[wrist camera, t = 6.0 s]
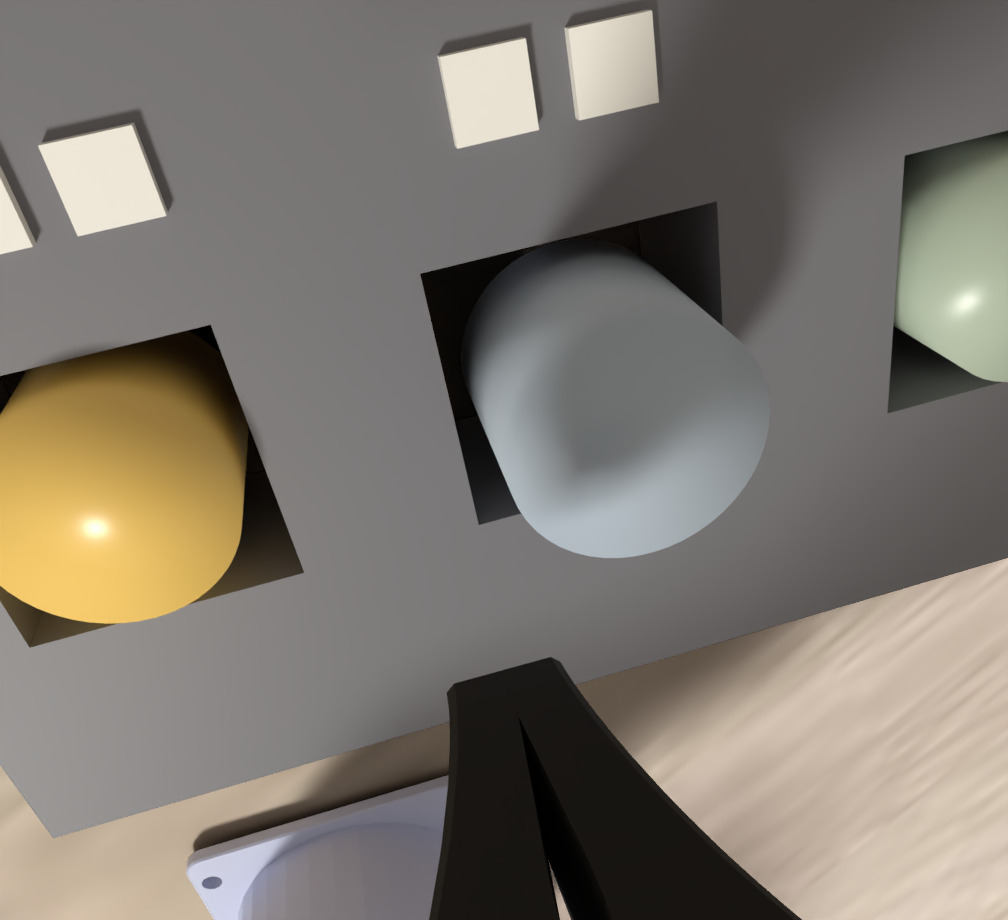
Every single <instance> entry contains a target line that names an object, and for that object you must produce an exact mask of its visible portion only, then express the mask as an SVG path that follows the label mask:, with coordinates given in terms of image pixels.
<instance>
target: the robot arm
mask: <svg viewBox="0 0 1008 920" xmlns="http://www.w3.org/2000/svg"><path fill="white" fill-rule="evenodd" d="M447 699H448V706H449V720H450V757H449V775H447V776H444V777H440V778H437V779H433V780H430V781H427V782H423V783H420V784H417V785H413V786H410V787H407V788H403V789H400V790H397V791H393V792H390V793H387V794H383V795H380V796H377V797H373V798H370V799H367V800H363V801H360V802H357V803H353V804H350V805H347V806H343V807H340V808H337V809H333V810H330V811H327V812H323V813H320V814H317V815H313V816H310V817H307V818H303V819H300V820H297V821H293V822H290V823H287V824H283V825H280V826H277V827H273V828H270V829H267V830H263V831H260V832H257V833H253V834H250V835H247V836H243V837H240V838H237V839H233V840H230V841H227V842H223V843H220V844H217V845H213V846H210V847H207V848H203V849H200V850H198V851H196V852H194V853H193V854H192V855H190V856H189V858H188V861H187V868H186V873H187V876H188V878H189V880H190V881H191V883H192V884H193V886H194V888H195V889H196V891H197V893H198V894H199V896H200V898H201V899H202V901H203V902H204V904H205V906H206V907H207V909H208V911H209V912H210V914H211V915H212V917H213V919H214V920H560V917H559V912H558V907H557V902H556V897H555V892H554V886H553V881H552V876H551V871H550V866H549V863H550V865H551V868H552V871H553V873H554V876H555V878H556V881H557V884H558V886H559V889H560V891H561V894H562V897H563V899H564V902H565V904H566V907H567V910H568V912H569V915H570V917H571V920H802V919H801V918H799V917H798V916H797V915H796V914H794V913H793V912H792V911H791V910H790V909H788V908H787V907H786V906H785V905H784V904H783V903H781V902H780V901H779V900H778V899H777V898H776V897H774V896H773V895H772V894H771V893H770V892H769V891H767V890H766V889H765V888H764V887H763V886H762V885H760V884H759V883H758V882H757V881H756V880H755V879H754V878H752V877H751V876H750V875H749V874H748V873H747V872H746V871H745V870H744V869H742V868H741V867H740V866H739V865H738V864H737V863H736V862H735V861H734V860H733V859H732V858H731V857H729V856H728V855H727V854H726V853H725V852H724V851H723V850H722V849H721V848H720V847H719V846H718V845H717V844H716V843H715V842H714V841H713V840H711V839H710V838H709V837H708V836H707V835H706V834H705V833H704V832H703V831H702V830H701V829H700V828H699V827H698V826H697V825H696V824H695V823H694V822H693V821H692V820H691V819H690V818H689V817H688V816H687V815H686V814H685V813H684V812H683V811H682V810H681V809H680V808H679V807H678V806H677V805H676V804H675V803H674V802H673V801H672V800H671V799H670V798H669V796H668V795H667V794H666V793H665V792H664V791H663V790H662V789H661V788H660V787H659V786H658V785H657V784H656V782H655V781H654V780H653V779H652V778H651V777H650V776H649V775H648V774H647V773H646V771H645V770H644V769H643V768H642V767H641V766H640V765H639V764H638V763H637V762H636V760H635V759H634V758H633V757H632V756H631V755H630V754H629V753H628V752H627V750H626V749H625V748H624V747H623V746H622V744H621V743H620V742H619V741H618V740H617V739H616V737H615V736H614V735H613V734H612V733H611V731H610V730H609V729H608V728H607V726H606V725H605V724H604V723H603V721H602V720H601V719H600V718H599V716H598V715H597V714H596V713H595V711H594V710H593V709H592V707H591V706H590V705H589V703H588V702H587V701H586V699H585V698H584V697H583V695H582V694H581V693H580V691H579V690H578V688H577V687H576V685H575V684H574V682H573V681H572V679H571V678H570V676H569V675H568V673H567V672H566V670H565V669H564V667H563V665H562V663H561V662H560V661H558V660H556V659H554V658H552V657H548V658H545V659H541V660H538V661H534V662H530V663H527V664H523V665H519V666H516V667H512V668H509V669H505V670H501V671H498V672H494V673H490V674H487V675H483V676H479V677H476V678H472V679H469V680H465V681H461V682H458V683H454V684H453V685H452V687H451V688H450V689H449V690H448V692H447ZM548 860H549V861H548Z"/></svg>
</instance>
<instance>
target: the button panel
mask: <svg viewBox="0 0 1008 920" xmlns="http://www.w3.org/2000/svg"><path fill="white" fill-rule="evenodd" d="M1004 131H1008V0H0V376H2V375H7V374H11V373H15V372H19V371H23V370H27V369H31V368H35V367H39V366H43V365H48V364H52V363H56V362H60V361H64V360H68V359H72V358H76V357H80V356H84V355H89V354H93V353H97V352H101V351H105V350H109V349H113V348H117V347H121V346H126V345H130V344H134V343H138V342H142V341H146V340H150V339H154V338H158V337H162V336H167V335H171V334H175V333H179V332H183V331H187V330H191V329H195V328H199V327H203V326H208V325H211V327H212V330H213V332H214V335H215V338H216V340H217V343H218V346H219V348H220V351H221V354H222V356H223V359H224V362H225V364H226V367H227V370H228V372H229V375H230V377H231V380H232V383H233V385H234V388H235V391H236V393H237V396H238V399H239V401H240V404H241V407H242V409H243V412H244V414H245V417H246V420H247V422H248V425H249V428H250V430H251V433H252V436H253V438H254V441H255V444H256V446H257V449H258V452H259V454H260V457H261V459H262V462H263V465H264V467H265V470H266V471H263V472H259V473H255V474H252V475H248V476H245V489H244V504H243V518H242V531H241V536H240V542H239V545H238V548H237V551H236V554H235V556H234V558H233V560H232V562H231V564H230V566H229V568H228V569H227V570H226V572H225V573H224V574H223V576H222V577H221V578H220V579H219V580H218V582H217V583H216V584H215V585H214V586H213V587H212V588H211V589H210V590H208V591H207V592H206V593H204V594H203V595H202V596H201V597H199V598H198V599H196V600H195V601H193V602H191V603H190V604H188V605H186V606H184V607H182V608H180V609H178V610H176V611H173V612H171V613H168V614H165V615H162V616H159V617H156V618H152V619H147V620H143V621H137V622H129V623H109V624H104V623H91V622H83V621H77V620H72V619H68V618H64V617H60V616H56V615H53V614H50V613H48V612H45V611H43V610H40V609H37V608H35V607H33V606H31V605H29V604H27V603H25V602H23V601H21V600H20V599H18V598H17V597H15V596H14V595H12V594H11V593H9V592H7V591H6V590H5V589H4V588H3V587H1V586H0V765H1V767H2V768H3V770H4V771H5V772H6V774H7V775H8V776H9V778H10V779H11V781H12V782H13V783H14V785H15V786H16V788H17V789H18V790H19V792H20V793H21V794H22V796H23V797H24V799H25V800H26V801H27V803H28V804H29V806H30V807H31V808H32V810H33V811H34V812H35V814H36V815H37V817H38V818H39V819H40V821H41V822H42V824H43V825H44V826H45V828H46V829H47V830H48V832H49V833H50V835H51V836H52V837H53V838H56V837H59V836H63V835H66V834H70V833H73V832H76V831H80V830H83V829H87V828H90V827H93V826H97V825H100V824H104V823H107V822H111V821H114V820H117V819H121V818H124V817H128V816H131V815H134V814H138V813H141V812H145V811H148V810H151V809H155V808H158V807H162V806H165V805H168V804H172V803H175V802H179V801H182V800H185V799H189V798H192V797H196V796H199V795H202V794H206V793H209V792H213V791H216V790H219V789H223V788H226V787H230V786H233V785H236V784H240V783H243V782H247V781H250V780H253V779H257V778H260V777H264V776H267V775H270V774H274V773H277V772H281V771H284V770H287V769H291V768H294V767H298V766H301V765H304V764H308V763H311V762H315V761H318V760H321V759H325V758H328V757H332V756H335V755H338V754H342V753H345V752H349V751H352V750H356V749H359V748H362V747H366V746H369V745H373V744H376V743H379V742H383V741H386V740H390V739H393V738H396V737H400V736H403V735H407V734H410V733H413V732H417V731H420V730H424V729H427V728H430V727H434V726H437V725H441V724H444V723H447V722H450V720H449V706H448V699H447V692H448V690H449V689H450V688H451V687H452V685H453V684H454V683H458V682H461V681H465V680H469V679H472V678H476V677H479V676H483V675H487V674H490V673H494V672H498V671H501V670H505V669H509V668H512V667H516V666H519V665H523V664H527V663H530V662H534V661H538V660H541V659H545V658H548V657H552V658H554V659H556V660H558V661H560V662H561V663H562V665H563V667H564V669H565V670H566V672H567V673H568V675H569V676H570V678H571V679H572V681H573V682H574V684H575V685H577V684H580V683H583V682H587V681H590V680H594V679H597V678H601V677H604V676H607V675H611V674H614V673H618V672H621V671H624V670H628V669H631V668H635V667H638V666H641V665H645V664H648V663H652V662H655V661H658V660H662V659H665V658H669V657H672V656H675V655H679V654H682V653H686V652H689V651H692V650H696V649H699V648H703V647H706V646H709V645H713V644H716V643H720V642H723V641H726V640H730V639H733V638H737V637H740V636H743V635H747V634H750V633H754V632H757V631H760V630H764V629H767V628H771V627H774V626H777V625H781V624H784V623H788V622H791V621H794V620H798V619H801V618H805V617H808V616H811V615H815V614H818V613H822V612H825V611H828V610H832V609H835V608H839V607H842V606H846V605H849V604H852V603H856V602H859V601H863V600H866V599H869V598H873V597H876V596H880V595H883V594H886V593H890V592H893V591H897V590H900V589H903V588H907V587H910V586H914V585H917V584H920V583H924V582H927V581H931V580H934V579H937V578H941V577H944V576H948V575H951V574H954V573H958V572H961V571H965V570H968V569H971V568H975V567H978V566H982V565H985V564H988V563H992V562H995V561H999V560H1002V559H1005V558H1008V382H996V381H990V380H986V379H982V378H980V377H977V376H975V375H973V374H971V373H970V372H968V371H966V370H965V369H963V368H961V367H960V366H958V365H957V364H955V363H953V362H952V361H950V360H948V359H947V358H945V357H944V356H942V355H940V354H939V353H937V352H935V351H934V350H932V349H931V348H929V347H927V346H926V345H924V344H922V343H921V342H919V341H918V340H916V339H914V338H913V337H911V336H909V335H908V334H906V333H905V332H903V331H901V330H900V329H898V328H896V327H895V326H893V323H894V308H895V293H896V278H897V263H898V249H899V234H900V219H901V204H902V189H903V174H904V159H905V155H909V154H913V153H918V152H922V151H926V150H930V149H934V148H938V147H942V146H946V145H950V144H954V143H959V142H963V141H967V140H971V139H975V138H979V137H983V136H987V135H991V134H996V133H1000V132H1004ZM634 221H638V226H639V236H640V247H641V257H642V258H643V259H644V260H645V261H647V262H648V263H649V264H650V265H651V266H653V267H654V268H655V269H656V270H657V271H658V272H660V273H661V274H662V275H663V276H664V277H665V278H667V279H668V280H669V281H670V282H671V283H672V284H674V285H675V286H676V287H677V288H678V289H680V290H681V291H682V292H683V293H684V294H685V295H687V296H688V297H689V298H690V299H691V300H692V301H694V302H695V303H696V304H697V305H698V306H699V307H701V308H702V309H703V310H704V311H705V312H706V313H708V314H709V315H710V316H711V317H712V318H713V319H715V320H716V321H717V322H718V323H719V324H720V325H722V326H723V327H724V328H725V329H726V330H728V331H729V332H730V333H731V334H732V335H733V336H735V337H736V338H737V339H738V340H739V341H740V342H741V343H742V344H743V345H744V346H745V347H746V348H747V349H748V350H749V352H750V353H751V354H752V356H753V357H754V359H755V360H756V362H757V364H758V365H759V367H760V369H761V372H762V374H763V377H764V379H765V382H766V386H767V391H768V395H769V406H770V417H769V428H768V434H767V439H766V443H765V446H764V449H763V452H762V455H761V458H760V460H759V462H758V464H757V466H756V469H755V471H754V473H753V474H752V476H751V478H750V479H749V481H748V482H747V484H746V486H745V487H744V488H743V490H742V491H741V492H740V494H739V495H738V496H737V498H736V499H735V500H734V501H733V502H732V503H731V504H730V505H729V506H728V507H727V508H726V510H725V511H724V512H722V513H721V514H720V515H719V516H718V517H717V518H716V519H714V520H713V521H712V522H711V523H710V524H708V525H707V526H705V527H704V528H703V529H701V530H700V531H698V532H697V533H695V534H693V535H692V536H690V537H688V538H686V539H685V540H683V541H681V542H678V543H676V544H674V545H672V546H670V547H667V548H664V549H661V550H658V551H655V552H652V553H648V554H644V555H639V556H633V557H625V558H600V557H591V556H586V555H582V554H578V553H574V552H571V551H569V550H566V549H564V548H561V547H559V546H557V545H556V544H554V543H552V542H550V541H549V540H547V539H546V538H545V537H543V536H542V535H541V534H539V533H538V532H537V531H536V530H535V529H534V528H533V527H532V526H531V525H530V524H529V523H528V522H527V521H526V519H525V518H524V516H523V515H522V513H521V512H520V510H519V509H518V507H517V505H516V503H515V501H514V498H513V496H512V494H511V492H510V489H509V487H508V485H507V482H506V480H505V478H504V475H503V473H502V470H501V468H500V466H499V463H498V461H497V459H496V456H495V454H494V451H493V449H492V447H491V444H490V442H489V440H488V437H487V435H486V433H485V430H484V428H483V425H482V423H481V421H480V418H479V416H474V417H470V418H466V419H462V420H459V421H454V417H453V412H452V408H451V404H450V400H449V395H448V391H447V387H446V383H445V378H444V374H443V370H442V365H441V361H440V357H439V353H438V348H437V344H436V340H435V335H434V331H433V327H432V323H431V318H430V314H429V310H428V306H427V301H426V297H425V293H424V288H423V284H422V280H421V276H420V274H421V273H425V272H429V271H433V270H437V269H442V268H446V267H450V266H454V265H458V264H462V263H466V262H470V261H474V260H478V259H483V258H487V257H491V256H495V255H499V254H503V253H507V252H511V251H515V250H519V249H524V248H528V247H532V246H536V245H540V244H544V243H548V242H552V241H556V240H561V239H565V238H569V237H573V236H577V235H581V234H585V233H589V232H593V231H597V230H602V229H606V228H610V227H614V226H618V225H622V224H626V223H630V222H634ZM9 399H10V397H9V395H8V393H7V391H6V389H5V387H4V385H3V384H2V382H1V380H0V414H1V412H2V411H3V409H4V407H5V406H6V404H7V402H8V401H9Z"/></svg>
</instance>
